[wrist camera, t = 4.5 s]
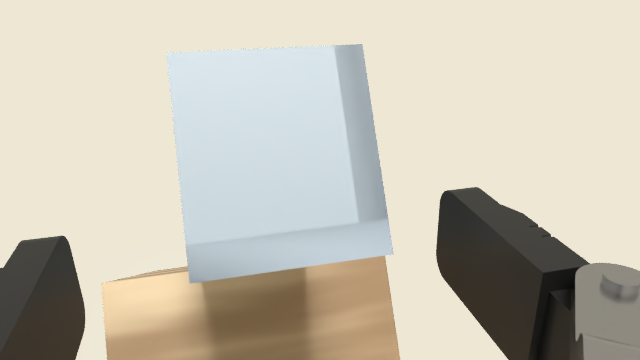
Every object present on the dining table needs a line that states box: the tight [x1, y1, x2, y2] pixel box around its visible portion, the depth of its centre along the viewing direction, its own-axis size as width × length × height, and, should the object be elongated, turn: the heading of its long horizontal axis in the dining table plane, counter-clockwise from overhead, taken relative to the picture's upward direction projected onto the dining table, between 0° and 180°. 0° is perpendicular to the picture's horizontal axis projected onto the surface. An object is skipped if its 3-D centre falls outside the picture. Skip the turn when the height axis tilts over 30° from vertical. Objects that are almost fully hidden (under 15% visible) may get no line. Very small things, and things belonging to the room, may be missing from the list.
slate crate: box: [167, 44, 393, 284], centre depth 24 cm, size 26×4×5 cm, turn 12°
